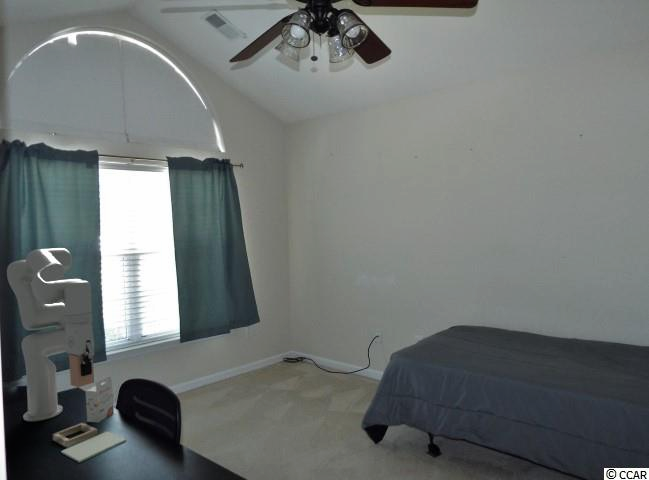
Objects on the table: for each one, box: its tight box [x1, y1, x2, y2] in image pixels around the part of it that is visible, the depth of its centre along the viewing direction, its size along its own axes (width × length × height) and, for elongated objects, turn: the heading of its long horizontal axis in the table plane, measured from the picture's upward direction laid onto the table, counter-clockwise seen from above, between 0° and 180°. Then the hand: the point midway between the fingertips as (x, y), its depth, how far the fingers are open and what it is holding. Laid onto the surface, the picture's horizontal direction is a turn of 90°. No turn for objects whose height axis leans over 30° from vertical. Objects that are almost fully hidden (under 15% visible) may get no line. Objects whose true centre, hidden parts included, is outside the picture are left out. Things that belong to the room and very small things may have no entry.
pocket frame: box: [52, 422, 99, 449], centre depth 145 cm, size 10×10×2 cm
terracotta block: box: [68, 352, 95, 388], centre depth 141 cm, size 5×5×10 cm
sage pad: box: [61, 430, 127, 463], centre depth 138 cm, size 11×15×1 cm
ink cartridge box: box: [85, 375, 115, 423], centre depth 160 cm, size 9×5×15 cm, turn 168°
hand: (82, 373), depth 141 cm, fingers closed on terracotta block, 5 cm apart
